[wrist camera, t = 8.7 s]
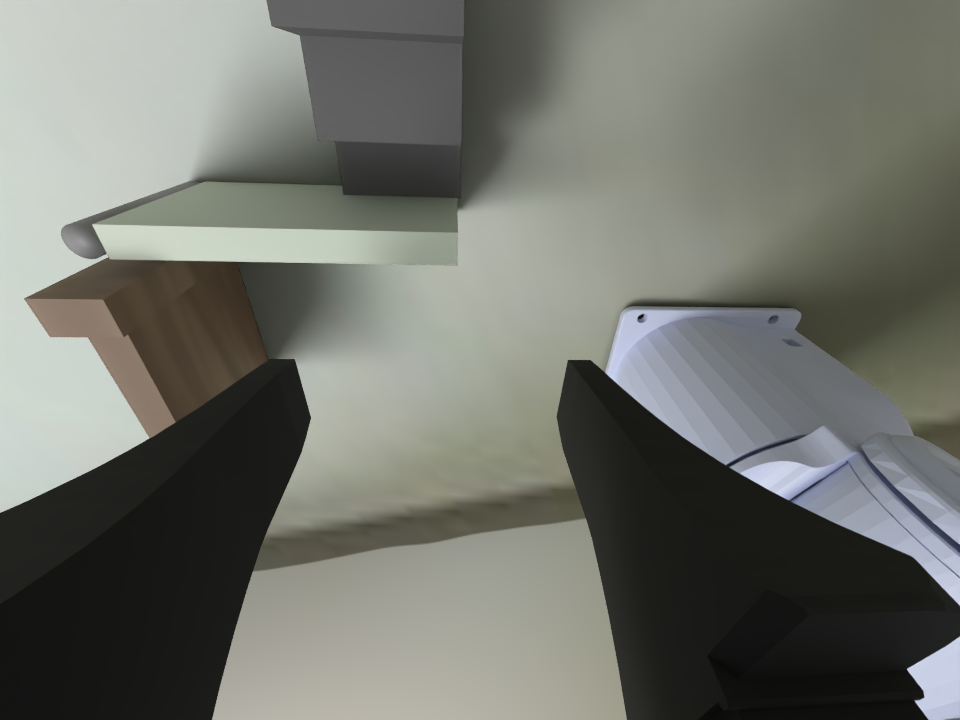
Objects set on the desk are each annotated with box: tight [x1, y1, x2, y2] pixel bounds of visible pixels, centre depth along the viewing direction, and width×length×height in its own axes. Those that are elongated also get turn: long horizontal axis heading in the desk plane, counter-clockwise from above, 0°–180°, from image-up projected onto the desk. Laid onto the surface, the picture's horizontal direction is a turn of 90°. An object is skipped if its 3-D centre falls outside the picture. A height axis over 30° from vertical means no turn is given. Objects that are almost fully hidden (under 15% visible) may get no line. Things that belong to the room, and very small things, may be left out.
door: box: [61, 181, 458, 266], centre depth 14 cm, size 11×1×6 cm, turn 88°
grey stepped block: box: [267, 0, 464, 198], centre depth 12 cm, size 7×4×6 cm, turn 178°
